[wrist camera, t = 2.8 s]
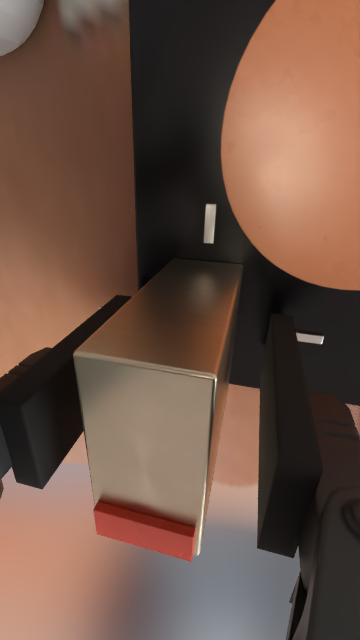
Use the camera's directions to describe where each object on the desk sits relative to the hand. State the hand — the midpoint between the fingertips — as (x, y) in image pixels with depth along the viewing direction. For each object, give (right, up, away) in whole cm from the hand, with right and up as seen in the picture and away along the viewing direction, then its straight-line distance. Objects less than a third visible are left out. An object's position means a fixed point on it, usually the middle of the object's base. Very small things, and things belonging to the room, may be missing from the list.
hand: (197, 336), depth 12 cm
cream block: (0, +1, +1) cm, 1 cm away
